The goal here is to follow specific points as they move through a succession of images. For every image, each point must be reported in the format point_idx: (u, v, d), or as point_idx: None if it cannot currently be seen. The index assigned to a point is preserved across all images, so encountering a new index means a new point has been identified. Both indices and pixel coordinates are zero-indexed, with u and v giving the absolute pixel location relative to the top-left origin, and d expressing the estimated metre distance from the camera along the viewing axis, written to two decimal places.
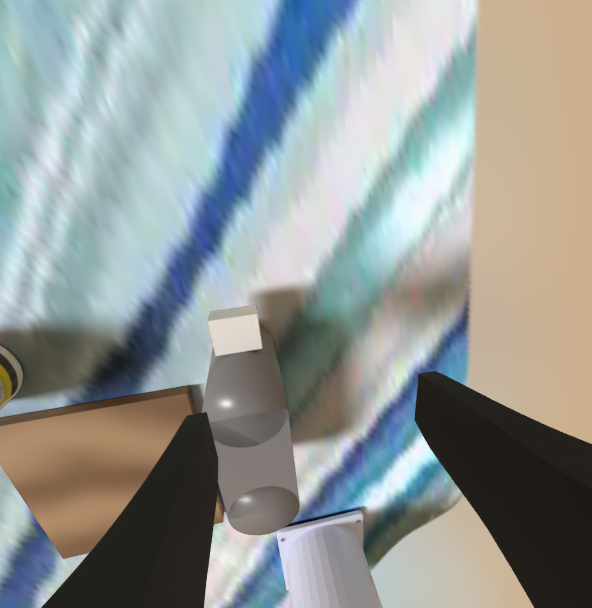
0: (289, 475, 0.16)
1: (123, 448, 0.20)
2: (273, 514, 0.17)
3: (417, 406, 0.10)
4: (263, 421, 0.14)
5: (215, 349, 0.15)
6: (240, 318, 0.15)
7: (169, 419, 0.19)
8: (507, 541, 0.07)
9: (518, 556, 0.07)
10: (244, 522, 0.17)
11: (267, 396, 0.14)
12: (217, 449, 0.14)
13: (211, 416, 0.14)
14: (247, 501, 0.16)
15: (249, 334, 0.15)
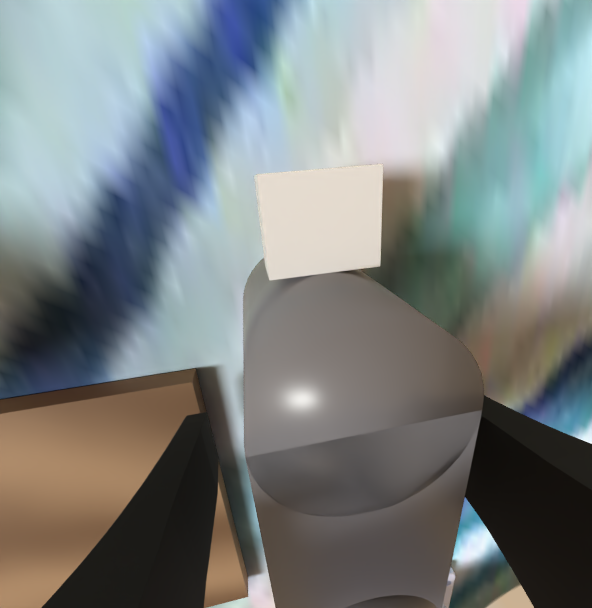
0: (436, 571, 0.07)
1: (73, 485, 0.10)
2: None
3: None
4: (412, 448, 0.05)
5: (270, 261, 0.06)
6: (340, 174, 0.06)
7: (159, 431, 0.10)
8: (507, 541, 0.07)
9: (518, 556, 0.07)
10: None
11: (440, 376, 0.05)
12: (281, 524, 0.05)
13: (274, 435, 0.04)
14: None
15: (356, 224, 0.06)
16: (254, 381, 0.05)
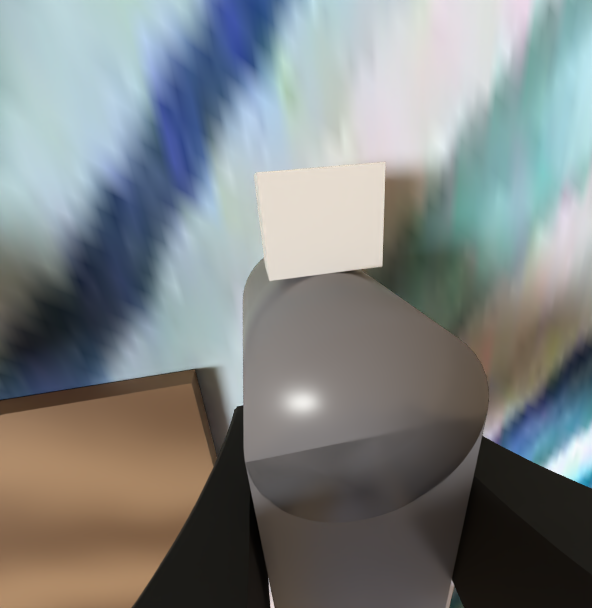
0: (439, 575, 0.07)
1: (71, 487, 0.10)
2: None
3: None
4: (415, 452, 0.05)
5: (270, 261, 0.06)
6: (342, 172, 0.05)
7: (158, 433, 0.10)
8: None
9: (458, 572, 0.07)
10: None
11: (444, 379, 0.04)
12: (281, 529, 0.05)
13: (275, 440, 0.04)
14: None
15: (358, 223, 0.06)
16: (254, 384, 0.04)
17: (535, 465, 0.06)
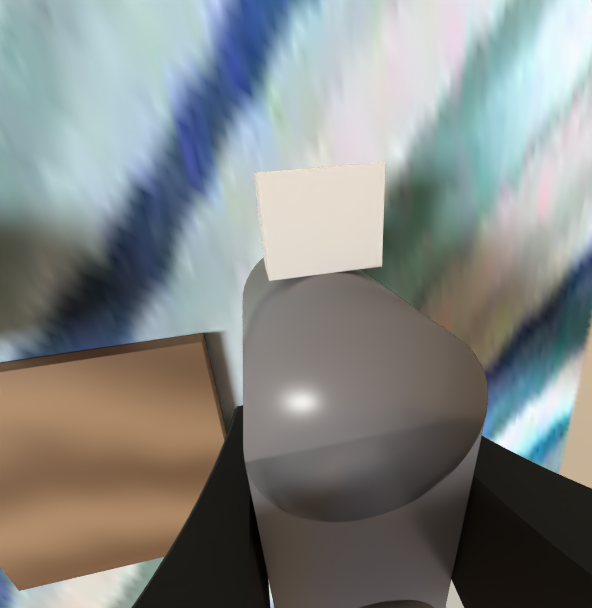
0: (438, 575, 0.07)
1: (103, 428, 0.13)
2: None
3: None
4: (414, 452, 0.05)
5: (270, 261, 0.06)
6: (341, 172, 0.05)
7: (174, 383, 0.13)
8: None
9: (458, 572, 0.07)
10: None
11: (444, 379, 0.04)
12: (281, 529, 0.05)
13: (274, 440, 0.04)
14: None
15: (357, 223, 0.06)
16: (254, 384, 0.04)
17: (535, 465, 0.06)
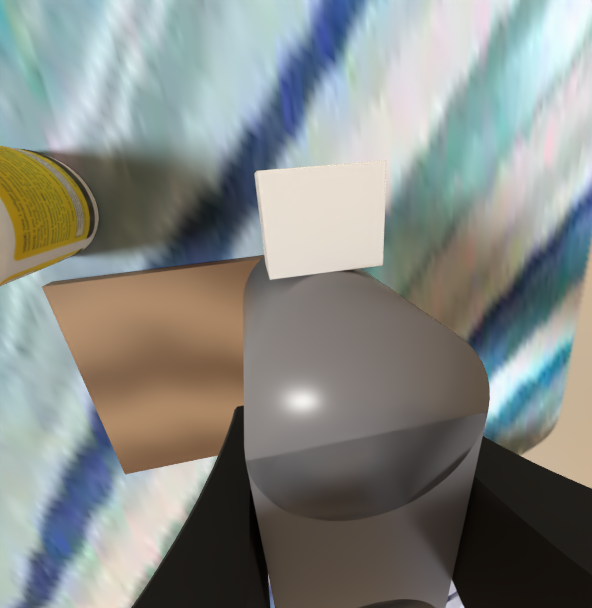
0: (439, 574, 0.07)
1: (207, 327, 0.17)
2: None
3: None
4: (416, 451, 0.05)
5: (270, 260, 0.06)
6: (342, 171, 0.05)
7: None
8: None
9: (458, 572, 0.07)
10: None
11: (445, 378, 0.04)
12: (282, 528, 0.05)
13: (275, 439, 0.04)
14: None
15: (358, 222, 0.06)
16: (255, 383, 0.04)
17: (535, 465, 0.06)
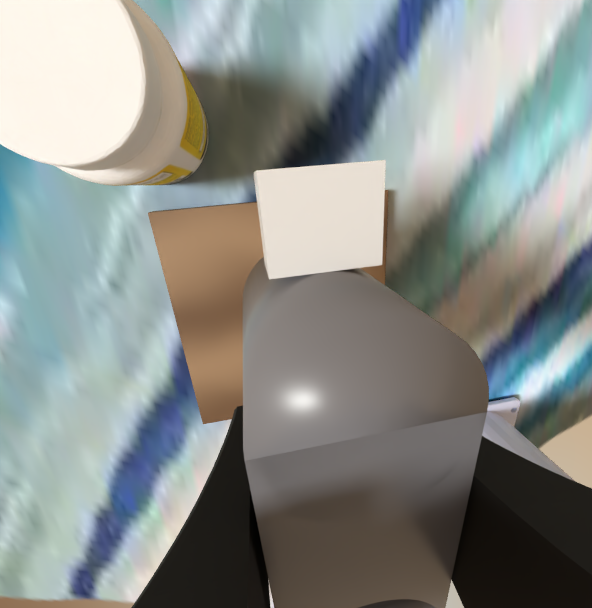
0: (438, 574, 0.07)
1: None
2: None
3: None
4: (415, 451, 0.05)
5: (270, 260, 0.06)
6: (341, 170, 0.05)
7: None
8: None
9: (458, 572, 0.07)
10: None
11: (445, 377, 0.04)
12: (281, 528, 0.05)
13: (274, 438, 0.04)
14: None
15: (358, 222, 0.06)
16: (254, 383, 0.04)
17: (535, 465, 0.06)
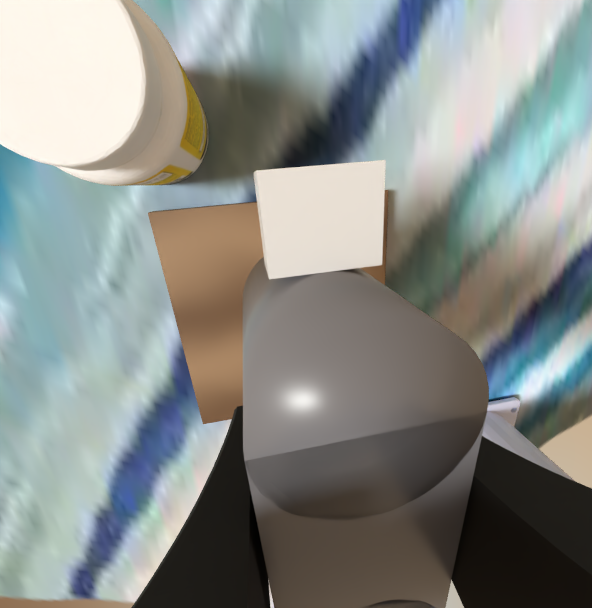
0: (438, 574, 0.07)
1: None
2: None
3: None
4: (415, 451, 0.05)
5: (270, 260, 0.06)
6: (341, 170, 0.05)
7: None
8: None
9: (458, 572, 0.07)
10: None
11: (445, 377, 0.04)
12: (281, 528, 0.05)
13: (274, 438, 0.04)
14: None
15: (358, 222, 0.06)
16: (253, 383, 0.04)
17: (535, 465, 0.06)
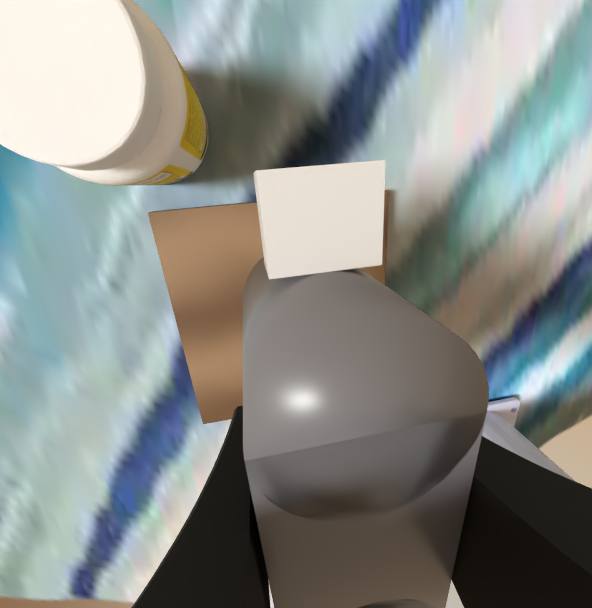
0: (438, 574, 0.07)
1: None
2: None
3: None
4: (415, 451, 0.05)
5: (269, 260, 0.06)
6: (341, 170, 0.05)
7: None
8: None
9: (458, 572, 0.07)
10: None
11: (444, 377, 0.04)
12: (281, 528, 0.05)
13: (274, 438, 0.04)
14: None
15: (358, 222, 0.06)
16: (253, 383, 0.04)
17: (535, 465, 0.06)
